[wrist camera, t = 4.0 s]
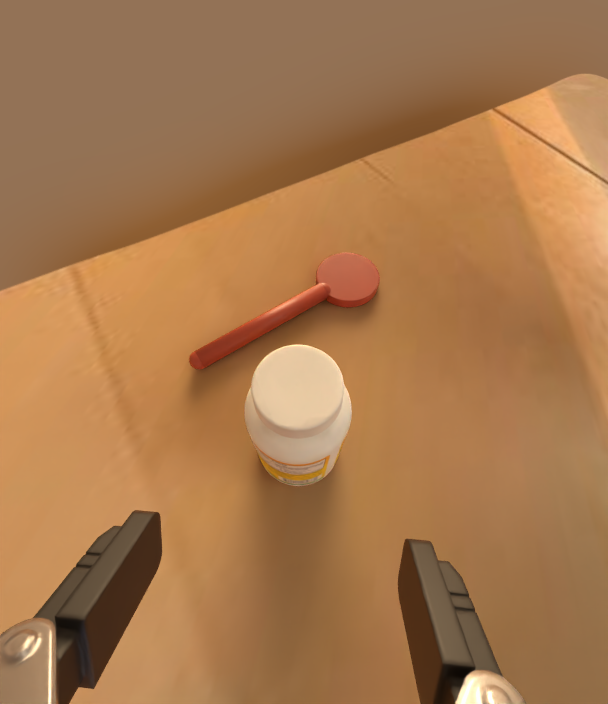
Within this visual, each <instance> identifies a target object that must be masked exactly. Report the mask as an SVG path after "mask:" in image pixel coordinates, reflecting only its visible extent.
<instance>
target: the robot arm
mask: <svg viewBox="0 0 608 704" xmlns="http://www.w3.org/2000/svg"><path fill="white" fill-rule="evenodd" d="M161 556H162V538H161V521H160V514H159V513H158V512H149V511H139V510H135V511H133V512H132V513H131V515H130V516H129V517H128V519H127V520H126V521H125V523H124V524H123V525H122V527H121V526H113V527H112V528H110V529H109V530H108V531H106V532H105V533H104V534H102V535H101V536H99V537H98V538H97V539H96V541H95V542H94V543H93V544H92V546H91V547H90V548H89V549H88V551H87V552H86V555H84V556H83V557H82V558H81V559H80V561H79V562H78V563H77V565H76V567H74V568H73V569H72V570H71V572H70V573H69V574H68V575H67V577H66V578H65V579H64V580H63V582H62V583H61V584H60V585H59V587H58V588H57V589H56V590H55V592H54V593H53V594H52V595H51V597H50V598H49V599H48V600H47V602H46V603H45V604H44V605H43V606H42V608H41V609H40V610H39V611H38V613H37V614H36V615H35V616H34V617H33V618H32V619H28V620H25V621H22V622H20V623H18V624H16V625H14V626H12V627H11V628H9V629H8V630H6V631H5V632H3V633H2V634H1V635H0V704H69V702H70V701H71V699H72V697H73V696H74V694H75V692H76V690H77V689H78V687H83V688H91V689H94V687H95V686H96V684H97V682H98V680H99V678H100V676H101V674H102V672H103V671H104V669H105V667H106V665H107V663H108V661H109V659H110V658H111V656H112V654H113V652H114V650H115V648H116V646H117V644H118V643H119V641H120V639H121V637H122V635H123V633H124V631H125V630H126V628H127V626H128V624H129V622H130V620H131V618H132V617H133V615H134V613H135V611H136V609H137V607H138V605H139V603H140V602H141V600H142V598H143V596H144V594H145V592H146V590H147V589H148V587H149V585H150V583H151V581H152V579H153V577H154V575H155V574H156V572H157V569H158V567H159V564H160V560H161ZM398 593H399V600H400V605H401V610H402V615H403V620H404V625H405V630H406V635H407V640H408V644H409V649H410V654H411V659H412V664H413V669H414V674H415V679H416V684H417V688H418V693H419V698H420V703H421V704H526V702H525V700H524V699H523V697H522V696H521V694H520V693H519V692H518V691H517V690H516V688H515V687H514V686H513V685H511V684H510V683H509V682H508V681H507V680H506V679H504V677H503V676H502V674H501V672H500V669H499V667H498V664H497V662H496V660H495V657H494V655H493V652H492V650H491V647H490V645H489V643H488V640H487V638H486V635H485V633H484V630H483V628H482V625H481V623H480V621H479V618H478V616H477V613H475V608H474V606H473V603H472V601H471V599H470V598H469V594H468V591H467V589H466V586H465V584H464V582H463V579H462V577H461V576H460V574H459V573H458V572H457V571H456V570H455V568H454V567H453V566H452V565H451V564H450V562H448V561H438V559H437V556H436V553H435V551H434V548H433V545H432V543H431V542H430V541H425V540H415V539H405V542H404V547H403V553H402V558H401V564H400V570H399V576H398Z"/></svg>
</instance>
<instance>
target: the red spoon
mask: <svg viewBox="0 0 608 704" xmlns="http://www.w3.org/2000/svg"><path fill="white" fill-rule="evenodd" d="M379 278H380V277H379V273H378V270H377V268H376V266H375V265H374V264H373V263H372V262H371V261H370V260H369V259H367V258H365V257H363V256H361V255H358V254H354V253H338V254H334V255H332V256H329V257H328V258H326V259H325V260H324V261H323V262H322V263H321V264H320V265H319V267H318V270H317V274H316V285H315V286H313V287H311V288H309V289H307V290H306V291H304V292H302V293H300V294H298V295H297V296H295V297H293V298H291V299H289V300H287V301H286V302H284V303H282V304H280V305H278V306H276V307H275V308H273V309H271V310H269V311H267V312H265V313H264V314H262V315H260V316H258V317H256V318H255V319H253V320H251V321H249V322H247V323H245V324H244V325H242V326H240V327H238V328H236V329H234V330H233V331H231V332H229V333H227V334H225V335H223V336H222V337H220V338H218V339H216V340H214V341H213V342H211V343H209V344H207V345H205V346H203V347H202V348H200V349H198V350H196V351H194V352H193V353H192V354H191V355H190V358H189V362H190V364H191V366H192V367H193V368H195V369H204V368H206V367H207V366H209V365H211V364H213V363H214V362H216V361H218V360H220V359H221V358H223V357H225V356H227V355H229V354H230V353H232V352H234V351H236V350H237V349H239V348H241V347H243V346H244V345H246V344H248V343H250V342H251V341H253V340H255V339H257V338H259V337H260V336H262V335H264V334H266V333H267V332H269V331H271V330H273V329H274V328H276V327H278V326H280V325H281V324H283V323H285V322H287V321H289V320H290V319H292V318H294V317H296V316H297V315H299V314H301V313H303V312H304V311H306V310H308V309H310V308H311V307H313V306H315V305H317V304H319V303H320V302H322V301H324V300H327V301H328V302H330V303H332V304H334V305H337V306H341V307H357V306H360V305H363V304H365V303H367V302H368V301H370V300H371V299H372V298H373V297H374V295H375V294H376V291H377V289H378V285H379Z"/></svg>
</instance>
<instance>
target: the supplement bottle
mask: <svg viewBox="0 0 608 704" xmlns="http://www.w3.org/2000/svg"><path fill="white" fill-rule="evenodd" d="M244 414H245V423H246V427H247V430H248V433H249V435H250V437H251V440H252V442H253V444H254V446H255V449H256V451H257V453H258V456H259V458H260V461H261V463H262V464H263V466H264V468H265V469H266V470H267V472H268V473H269V474H270V475H271V476H273V477H274V478H275V479H277V480H278V481H280V482H282V483H285V484H288V485H292V486H305V485H310V484H313V483H315V482H317V481H319V480H321V479H322V478H324V477H325V476H326V475H327V474H328V473H329V472H330V471H331V470H332V468H333V467H334V465H335V463H336V461H337V459H338V456H339V454H340V451H341V448H342V445H343V443H344V440H345V438H346V435H347V433H348V430H349V427H350V422H351V416H352V408H351V401H350V397H349V394H348V391H347V389H346V387H345V385H344V381H343V376H342V373H341V371H340V369H339V367H338V366H337V364H336V363H335V361H334V360H333V359H332V358H331V357H330V356H328V355H327V354H326V353H324V352H323V351H321V350H319V349H316V348H314V347H311V346H307V345H289V346H284V347H281V348H279V349H277V350H275V351H273V352H271V353H270V354H268V355H267V356H266V357H265V358H264V359H263V360H262V361H261V362H260V363H259V365H258V367H257V368H256V370H255V372H254V375H253V378H252V384H251V388H250V390H249V392H248V395H247V398H246V402H245V411H244Z"/></svg>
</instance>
